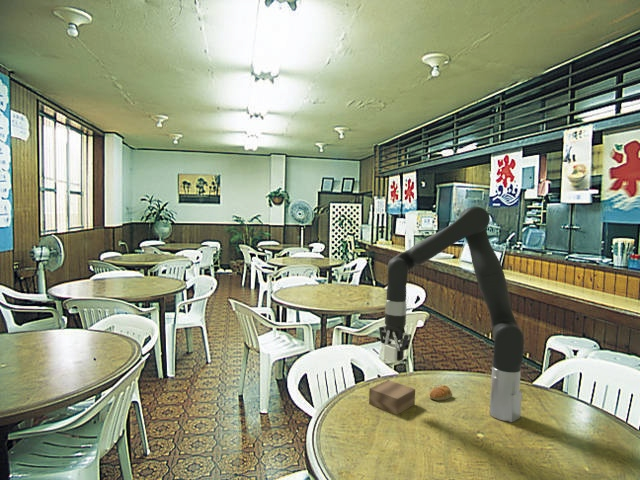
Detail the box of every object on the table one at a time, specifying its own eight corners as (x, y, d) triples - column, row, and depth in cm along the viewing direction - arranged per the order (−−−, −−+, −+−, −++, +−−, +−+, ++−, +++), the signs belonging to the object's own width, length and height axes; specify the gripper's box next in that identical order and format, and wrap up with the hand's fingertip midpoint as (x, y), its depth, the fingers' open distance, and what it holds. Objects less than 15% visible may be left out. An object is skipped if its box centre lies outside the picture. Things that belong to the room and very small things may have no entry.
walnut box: (414, 405, 160) (415, 389, 159) (396, 415, 151) (397, 398, 151) (387, 395, 168) (388, 379, 168) (368, 404, 159) (369, 388, 159)
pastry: (440, 404, 161) (440, 394, 161) (424, 398, 166) (425, 388, 166) (453, 397, 167) (453, 387, 167) (438, 391, 172) (438, 382, 172)
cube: (403, 359, 158) (404, 346, 158) (394, 362, 155) (394, 348, 154) (393, 356, 162) (393, 342, 161) (383, 358, 159) (384, 345, 158)
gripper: (417, 315, 154) (415, 361, 155) (388, 307, 165) (386, 350, 166) (403, 317, 149) (401, 366, 150) (374, 309, 161) (372, 354, 162)
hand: (393, 357), depth 158 cm, fingers closed on cube, 5 cm apart
